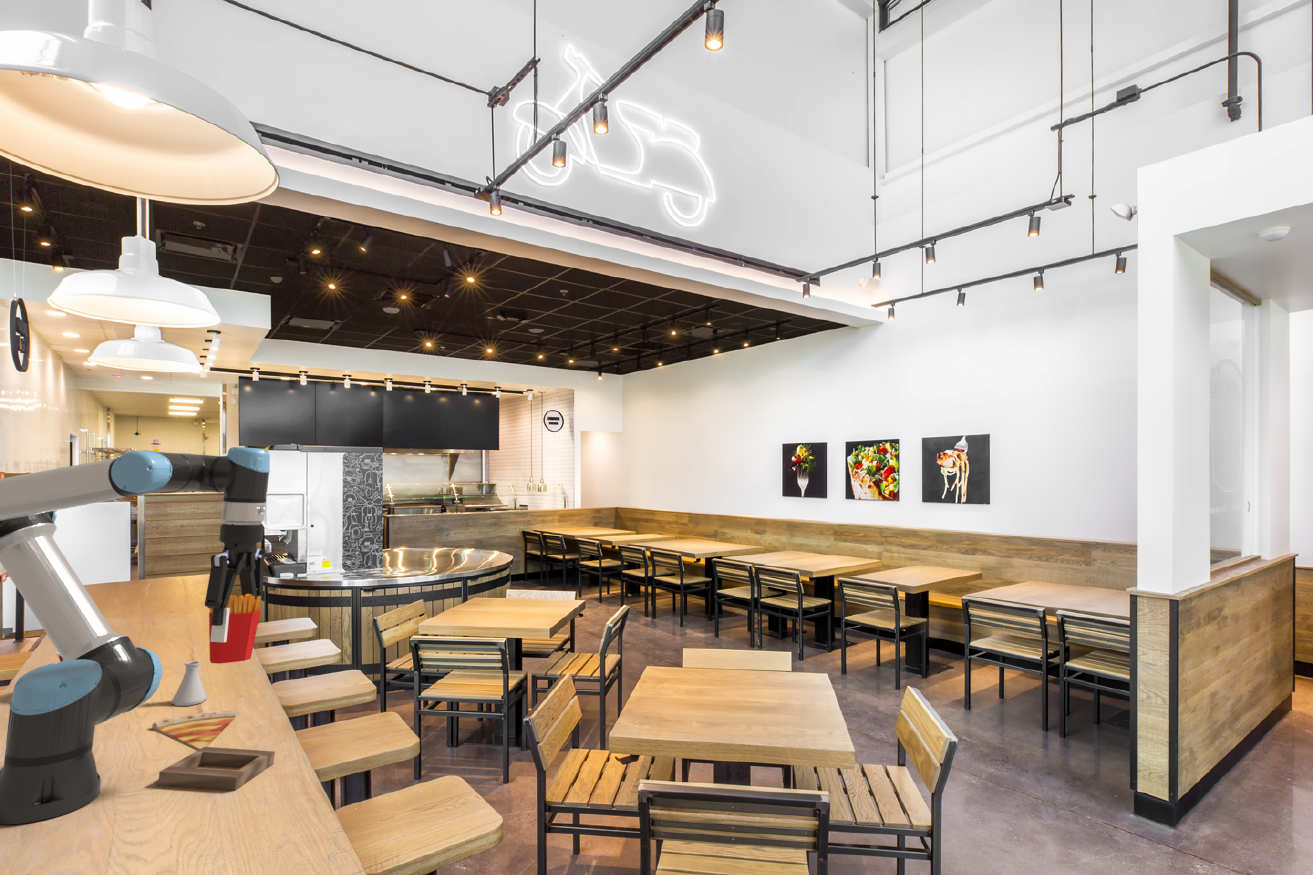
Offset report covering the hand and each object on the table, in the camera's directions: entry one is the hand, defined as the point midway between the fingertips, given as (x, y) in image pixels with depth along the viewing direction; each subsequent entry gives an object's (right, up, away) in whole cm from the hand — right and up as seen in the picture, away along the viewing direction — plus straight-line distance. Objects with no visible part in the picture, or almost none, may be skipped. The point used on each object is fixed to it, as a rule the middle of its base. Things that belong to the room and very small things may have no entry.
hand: (231, 636), depth 132 cm
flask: (-34, -28, +36) cm, 57 cm away
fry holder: (-1, -27, -2) cm, 27 cm away
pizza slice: (-22, -28, +16) cm, 39 cm away
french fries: (0, -5, 0) cm, 5 cm away
